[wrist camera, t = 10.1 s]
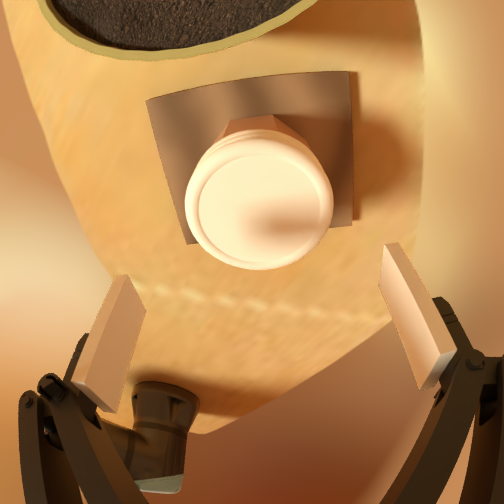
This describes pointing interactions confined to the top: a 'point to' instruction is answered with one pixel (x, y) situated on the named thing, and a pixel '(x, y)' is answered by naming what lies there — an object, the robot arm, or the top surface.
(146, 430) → the robot arm
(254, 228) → the cream flat cylinder
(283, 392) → the top surface
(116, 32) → the potted cactus
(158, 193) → the top surface
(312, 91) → the board
